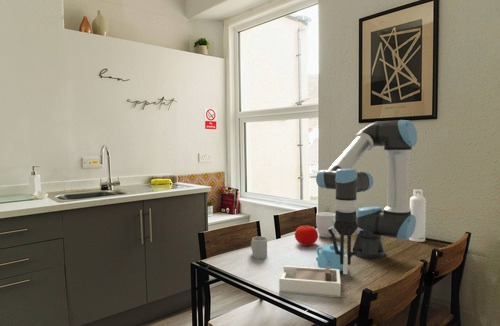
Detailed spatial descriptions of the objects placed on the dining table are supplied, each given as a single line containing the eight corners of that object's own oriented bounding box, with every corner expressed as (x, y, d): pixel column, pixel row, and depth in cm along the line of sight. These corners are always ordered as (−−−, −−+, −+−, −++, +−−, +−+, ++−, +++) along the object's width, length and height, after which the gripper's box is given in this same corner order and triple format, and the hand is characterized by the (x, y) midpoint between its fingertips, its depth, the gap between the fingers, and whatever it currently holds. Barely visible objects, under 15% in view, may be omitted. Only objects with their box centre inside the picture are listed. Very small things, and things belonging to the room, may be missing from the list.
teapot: (354, 276, 143) (354, 249, 143) (321, 277, 143) (321, 250, 142) (343, 263, 159) (343, 239, 158) (313, 264, 158) (313, 240, 157)
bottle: (425, 238, 196) (427, 189, 194) (424, 242, 189) (425, 191, 187) (410, 236, 200) (411, 188, 198) (408, 240, 194) (409, 190, 192)
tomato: (321, 244, 187) (321, 225, 187) (305, 249, 180) (305, 229, 180) (307, 240, 197) (307, 221, 196) (290, 243, 190) (290, 224, 189)
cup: (258, 260, 165) (258, 241, 164) (245, 254, 173) (245, 237, 172) (270, 256, 169) (270, 238, 169) (257, 251, 177) (257, 234, 177)
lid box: (339, 282, 138) (339, 269, 138) (340, 297, 125) (340, 283, 124) (284, 277, 143) (284, 265, 143) (279, 292, 130) (279, 278, 129)
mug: (344, 237, 202) (345, 214, 201) (334, 241, 194) (334, 217, 193) (323, 232, 212) (323, 211, 211) (312, 236, 205) (312, 214, 204)
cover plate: (332, 274, 137) (332, 264, 137) (333, 285, 127) (333, 275, 126) (297, 272, 140) (297, 262, 140) (294, 282, 130) (294, 272, 129)
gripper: (363, 209, 131) (362, 270, 133) (327, 207, 134) (327, 268, 136) (365, 213, 124) (364, 278, 125) (327, 211, 127) (327, 275, 128)
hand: (345, 272), depth 131 cm, fingers closed
